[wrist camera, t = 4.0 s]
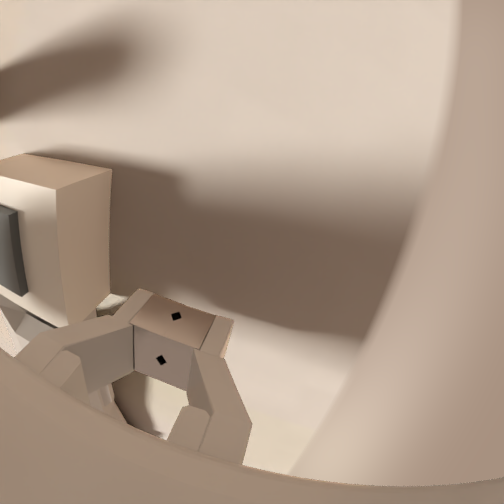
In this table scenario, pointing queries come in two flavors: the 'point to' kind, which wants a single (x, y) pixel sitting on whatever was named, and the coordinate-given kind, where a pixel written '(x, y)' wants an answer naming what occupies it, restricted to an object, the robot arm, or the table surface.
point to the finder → (54, 236)
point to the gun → (29, 326)
